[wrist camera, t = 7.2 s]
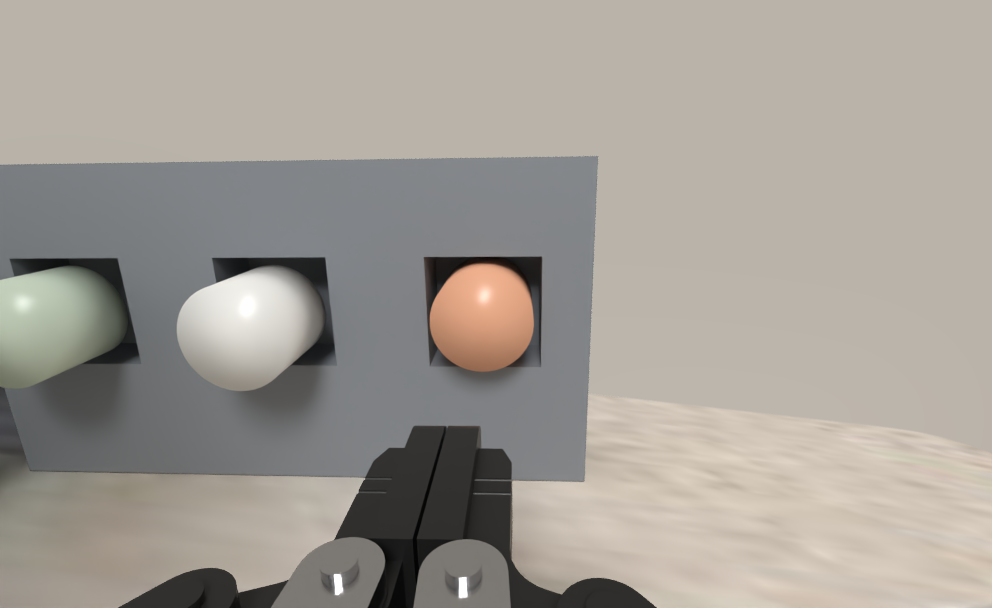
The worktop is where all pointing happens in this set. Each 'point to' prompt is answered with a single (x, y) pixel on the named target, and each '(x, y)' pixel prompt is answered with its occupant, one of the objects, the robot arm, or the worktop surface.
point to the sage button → (56, 323)
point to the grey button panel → (346, 296)
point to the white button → (250, 326)
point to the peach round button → (483, 315)
